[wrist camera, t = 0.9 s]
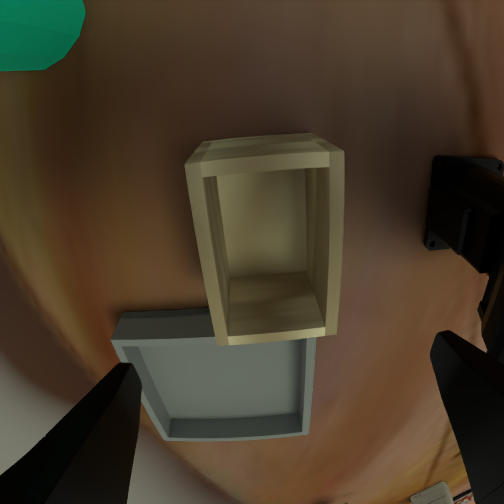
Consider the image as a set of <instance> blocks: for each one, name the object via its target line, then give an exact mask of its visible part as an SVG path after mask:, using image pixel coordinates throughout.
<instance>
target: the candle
mask: <svg viewBox="0 0 504 504" xmlns="http://www.w3.org/2000/svg"><path fill="white" fill-rule="evenodd" d="M85 14H86V11H85V7H84V3H83V0H0V71H27V70H45V69H47V68H48V67H50V66H51V65H53V64H55V63H56V62H58V61H59V60H61V59H63V58H64V57H65V56H66V54H67V53H68V51H69V50H70V49H71V47H72V46H73V44H74V43H75V42H76V40H77V39H78V38H79V36H80V32H81V28H82V25H83V21H84V18H85Z"/></svg>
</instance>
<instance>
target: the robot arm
mask: <svg viewBox="0 0 504 504" xmlns="http://www.w3.org/2000/svg"><path fill="white" fill-rule="evenodd" d="M441 160H442V164H441V166H439V162H440V161H441ZM497 166H498V168H497ZM503 171H504V163H503V162H502V161H501V160H499V159H494V158H482V157H468V156H451V155H437V156H436V157H435V158H434V159H433V165H432V178H431V188H430V190H429V199H428V208H427V217H426V231H425V238H424V246H425V247H426V248H427V249H428V250H440V249H449V248H451V249H452V250H453V251H454V252H455V253H456V254H457V255H461V256H462V257H463V258H464V259H465V260H467V261H468V262H469V263H470V264H471V265H472V266H473V267H474V268H475V269H476V270H477V271H478V272H479V273H486V274H487V275H488V276H489V280H488V283H487V286H486V290H485V293H484V296H483V299H482V301H480V303H479V306H478V309H477V310H478V313H479V316H480V319H481V322H482V323H481V333H482V337H483V340H484V343H485V345H486V348H487V352H486V353H485V352H484V351H482V350H480V349H479V348H477V347H476V346H474V345H473V344H471V343H469V342H468V341H466V340H465V339H463V338H461V337H460V336H458V335H457V334H455V333H453V332H452V331H450V330H446V331H441V332H438V333H437V334H436V336H435V339H434V342H433V345H432V348H431V351H430V359H431V363H432V366H433V369H434V373H435V376H436V380H437V384H438V387H439V391H440V394H441V398H442V401H443V404H444V406H445V409H446V412H447V414H448V417H449V420H450V423H451V426H452V428H453V431H454V434H455V437H456V440H457V443H458V446H459V449H460V452H461V455H462V459H463V462H464V465H465V468H466V472H467V475H468V479H469V482H470V486H471V490H472V493H473V497H474V501H475V503H476V504H504V177H503ZM431 241H433V242H432V243H431V244H430V242H431ZM429 244H430V245H429ZM141 395H142V382H141V379H140V377H139V375H138V373H137V371H136V369H135V367H134V365H133V364H132V363H127V362H120V363H118V364H117V365H116V366H115V367H114V368H113V369H112V370H111V371H110V372H109V373H108V374H107V375H106V376H105V377H104V378H103V379H102V380H100V381H99V382H98V383H97V384H96V385H95V386H94V387H93V388H92V389H91V390H90V391H89V392H88V393H87V394H86V395H85V396H84V397H83V398H82V399H81V400H80V401H79V402H78V403H77V404H76V405H75V406H74V407H73V408H72V409H71V410H70V411H69V412H68V413H67V414H66V415H65V416H64V417H63V418H62V419H61V420H60V421H59V422H58V423H57V424H56V425H55V426H54V427H53V428H52V429H51V430H50V431H49V432H48V433H47V434H46V436H45V437H43V438H42V439H41V440H40V441H39V442H38V443H37V444H36V445H35V446H34V447H33V448H32V449H31V450H30V451H29V452H28V453H27V454H25V455H24V456H23V457H22V458H21V459H20V460H18V461H17V462H16V463H15V464H14V465H12V466H11V467H10V468H9V469H7V470H6V471H5V472H4V473H3V474H1V475H0V504H127V498H128V491H129V485H130V484H129V483H130V478H131V472H132V466H133V460H134V454H135V448H136V443H137V438H138V431H139V420H140V407H141Z"/></svg>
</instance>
